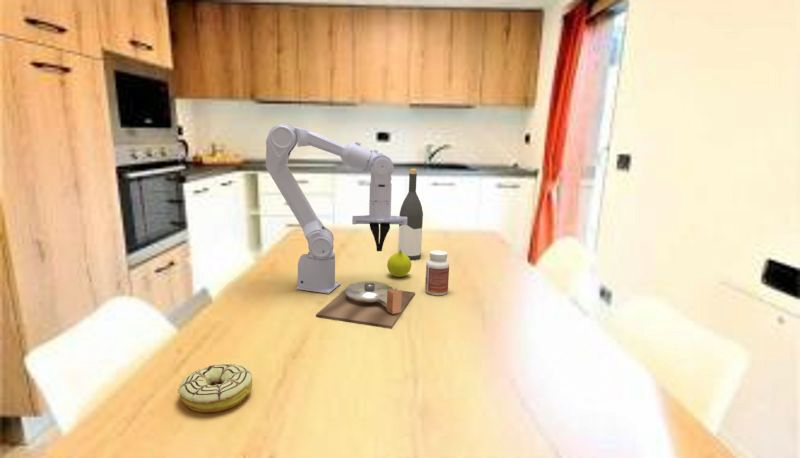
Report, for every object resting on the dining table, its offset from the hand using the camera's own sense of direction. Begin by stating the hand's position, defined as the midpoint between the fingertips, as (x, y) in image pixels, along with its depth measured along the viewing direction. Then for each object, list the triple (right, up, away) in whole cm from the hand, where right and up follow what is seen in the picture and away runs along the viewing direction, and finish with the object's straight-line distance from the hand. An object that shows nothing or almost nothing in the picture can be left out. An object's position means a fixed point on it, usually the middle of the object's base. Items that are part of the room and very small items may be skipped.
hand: (379, 250), depth 121 cm
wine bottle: (+9, -4, +32) cm, 34 cm away
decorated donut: (-24, -21, -50) cm, 59 cm away
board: (-2, -13, -11) cm, 17 cm away
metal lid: (0, -12, -10) cm, 16 cm away
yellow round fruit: (+5, -8, +12) cm, 16 cm away
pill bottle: (+15, -11, 0) cm, 19 cm away
